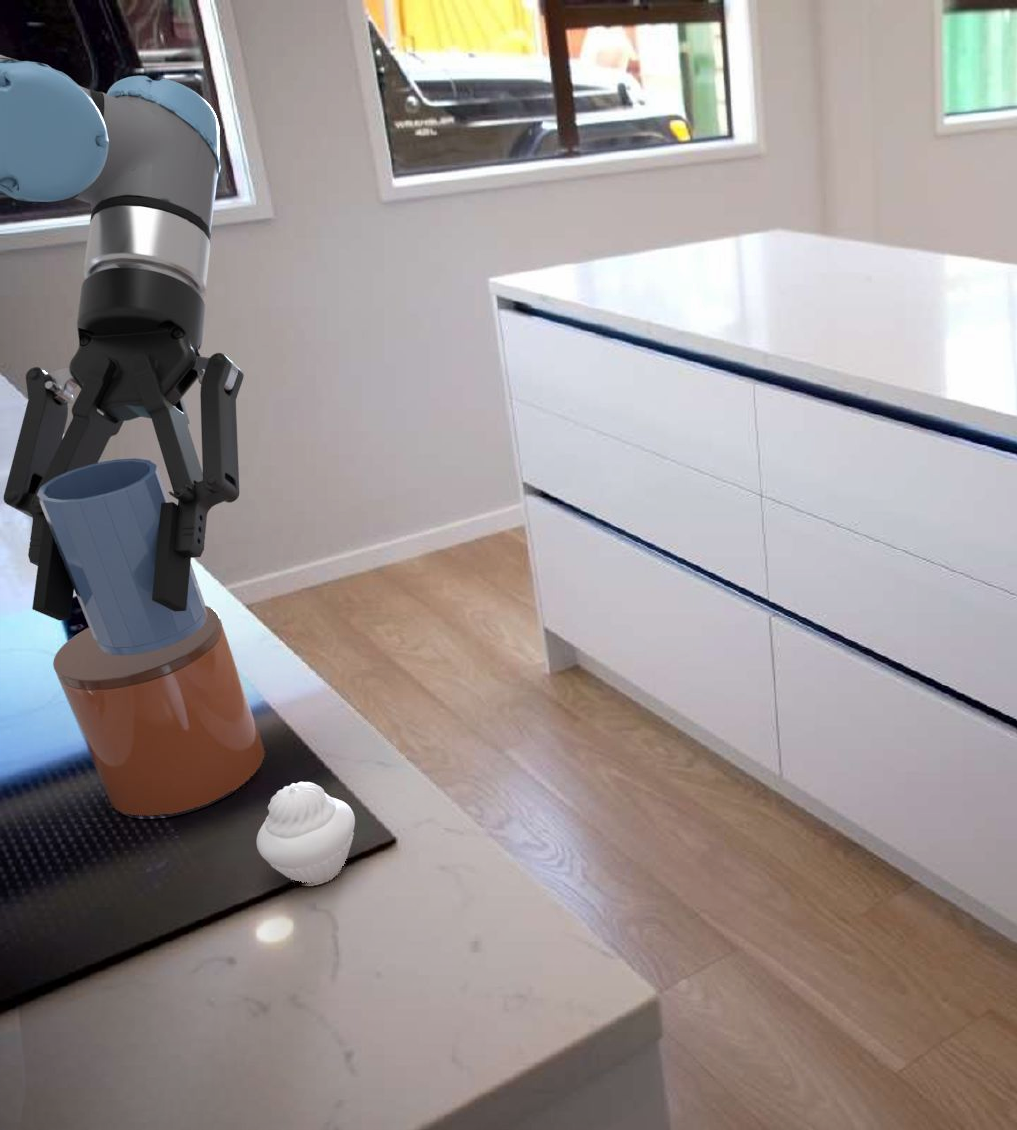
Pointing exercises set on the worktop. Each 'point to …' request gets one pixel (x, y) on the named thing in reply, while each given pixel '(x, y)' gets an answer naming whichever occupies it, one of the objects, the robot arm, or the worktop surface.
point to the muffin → (306, 833)
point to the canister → (163, 720)
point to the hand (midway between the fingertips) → (110, 609)
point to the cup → (117, 554)
